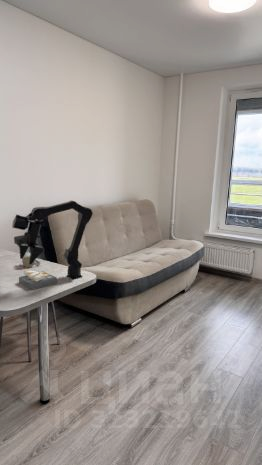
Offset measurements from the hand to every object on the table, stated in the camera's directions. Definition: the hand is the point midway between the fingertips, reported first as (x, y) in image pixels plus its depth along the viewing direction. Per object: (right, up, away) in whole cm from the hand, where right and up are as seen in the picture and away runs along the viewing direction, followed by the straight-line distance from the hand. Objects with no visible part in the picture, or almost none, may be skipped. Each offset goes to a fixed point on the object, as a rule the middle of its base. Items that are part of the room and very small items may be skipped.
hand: (25, 261), depth 163 cm
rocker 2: (+4, -7, +1) cm, 8 cm away
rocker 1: (+1, -7, +5) cm, 8 cm away
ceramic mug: (-7, -6, +32) cm, 33 cm away
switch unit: (+5, -11, +4) cm, 13 cm away
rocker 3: (+7, -8, -2) cm, 11 cm away
